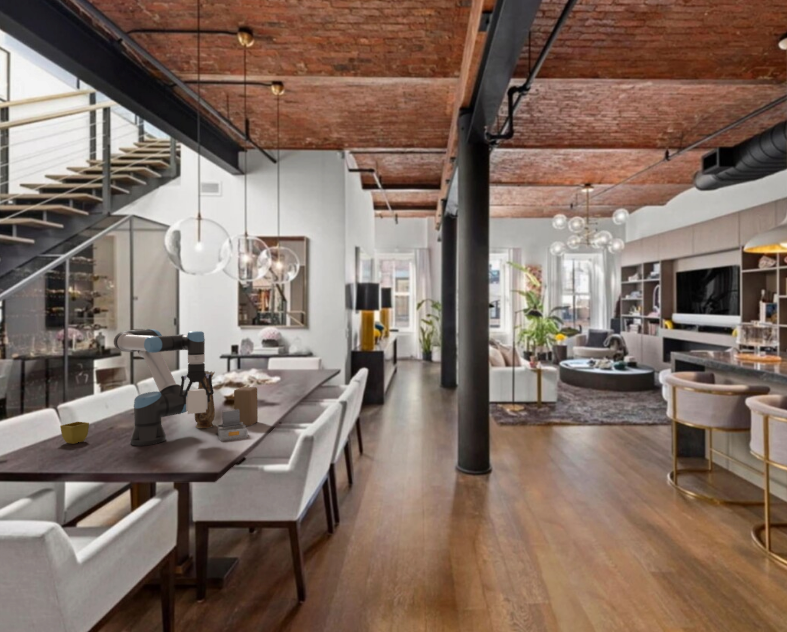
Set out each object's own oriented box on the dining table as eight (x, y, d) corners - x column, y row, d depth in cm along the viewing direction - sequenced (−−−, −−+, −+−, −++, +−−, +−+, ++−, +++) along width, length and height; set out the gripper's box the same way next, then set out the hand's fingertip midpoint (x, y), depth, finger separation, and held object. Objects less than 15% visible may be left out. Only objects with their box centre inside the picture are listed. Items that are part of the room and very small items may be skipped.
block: (258, 421, 261) (257, 386, 261) (251, 426, 251) (250, 390, 251) (241, 421, 262) (241, 386, 262) (233, 425, 252) (233, 389, 252)
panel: (187, 413, 219) (187, 391, 219) (187, 412, 222) (187, 389, 222) (205, 412, 223) (205, 389, 223) (205, 410, 226) (205, 388, 226)
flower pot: (59, 443, 220) (59, 425, 220) (78, 439, 229) (77, 421, 228) (72, 445, 217) (71, 427, 217) (90, 440, 225) (89, 422, 225)
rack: (220, 441, 223) (220, 416, 223) (217, 433, 237) (217, 410, 237) (247, 437, 228) (247, 414, 228) (242, 430, 243) (242, 407, 242)
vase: (202, 423, 258) (201, 370, 257) (219, 424, 256) (218, 370, 255) (190, 428, 248) (189, 373, 247) (208, 429, 245) (207, 373, 245)
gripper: (172, 365, 214) (173, 413, 215) (219, 362, 223) (220, 409, 224) (172, 363, 221) (172, 410, 221) (218, 361, 230) (218, 406, 231)
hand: (196, 409), depth 223 cm, fingers closed on panel, 8 cm apart
